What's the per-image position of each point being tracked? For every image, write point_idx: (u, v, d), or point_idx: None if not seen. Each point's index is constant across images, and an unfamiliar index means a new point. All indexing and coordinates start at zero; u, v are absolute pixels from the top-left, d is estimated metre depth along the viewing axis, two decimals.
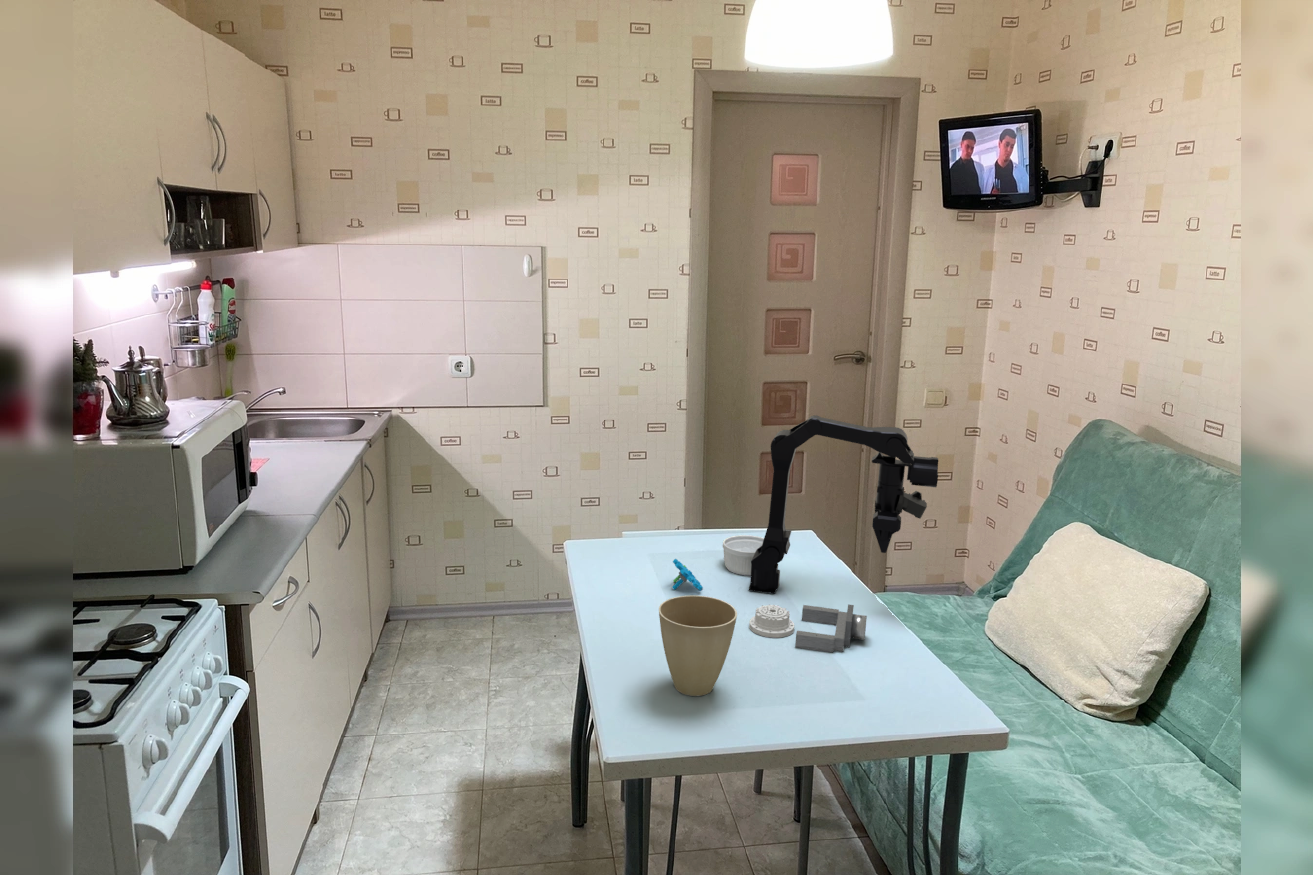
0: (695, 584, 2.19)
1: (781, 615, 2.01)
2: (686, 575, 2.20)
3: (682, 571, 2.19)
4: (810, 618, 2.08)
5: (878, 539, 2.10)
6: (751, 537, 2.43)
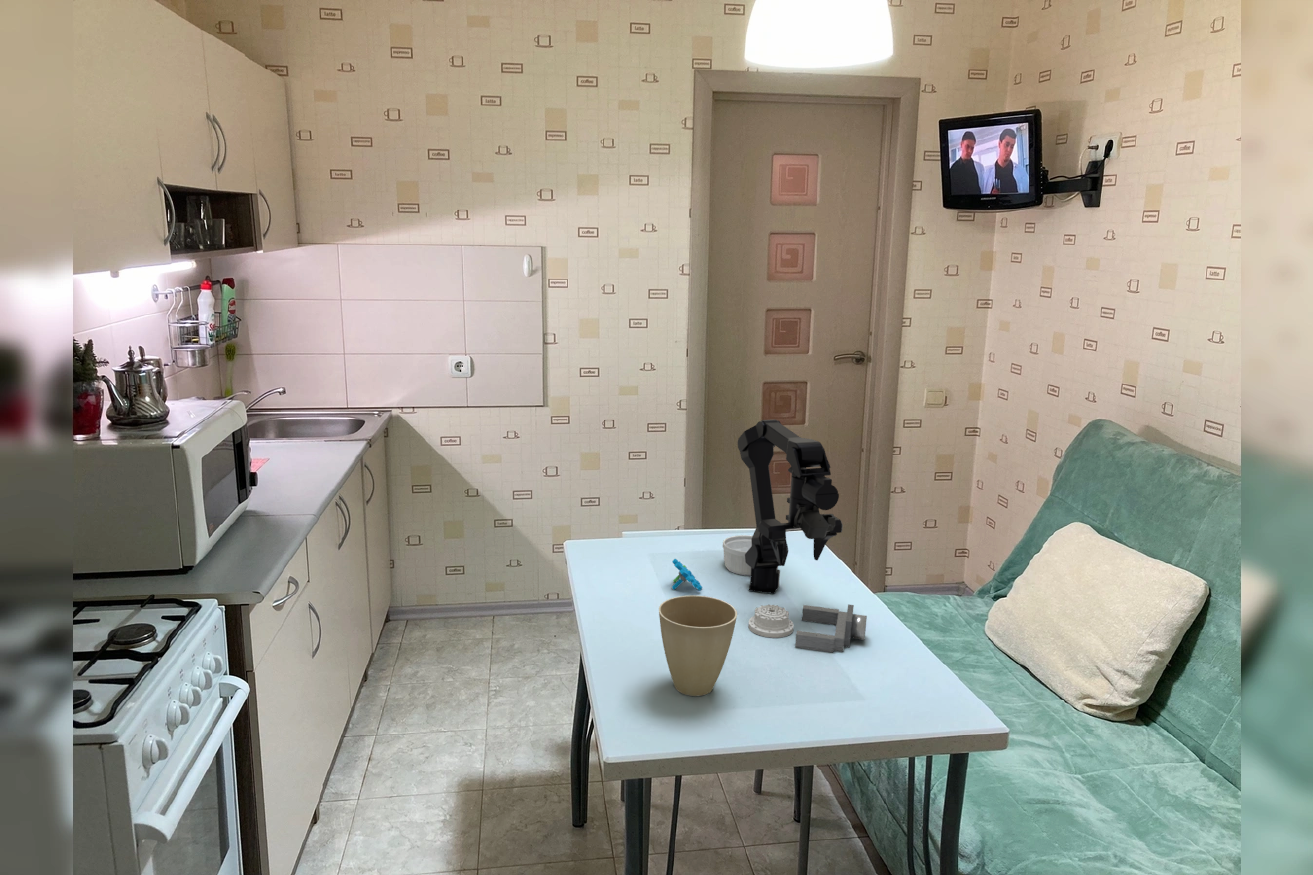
0: (694, 584, 2.19)
1: (780, 615, 2.01)
2: (685, 575, 2.20)
3: (681, 571, 2.19)
4: (810, 618, 2.08)
5: (773, 547, 2.07)
6: (751, 537, 2.43)
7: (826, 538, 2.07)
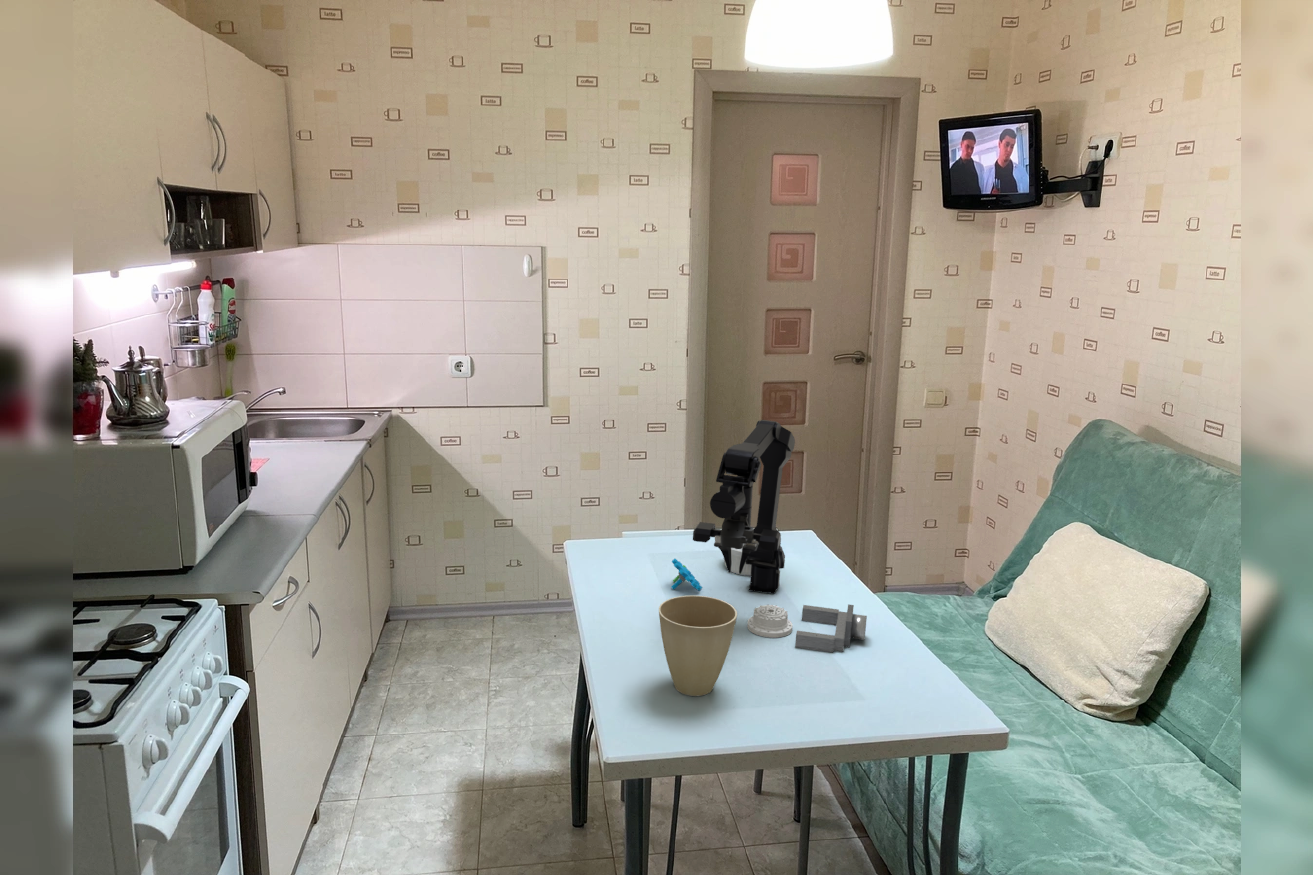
0: (693, 584, 2.19)
1: (779, 615, 2.01)
2: (685, 575, 2.20)
3: (681, 571, 2.19)
4: (810, 618, 2.08)
5: None
6: None
7: (744, 552, 2.00)
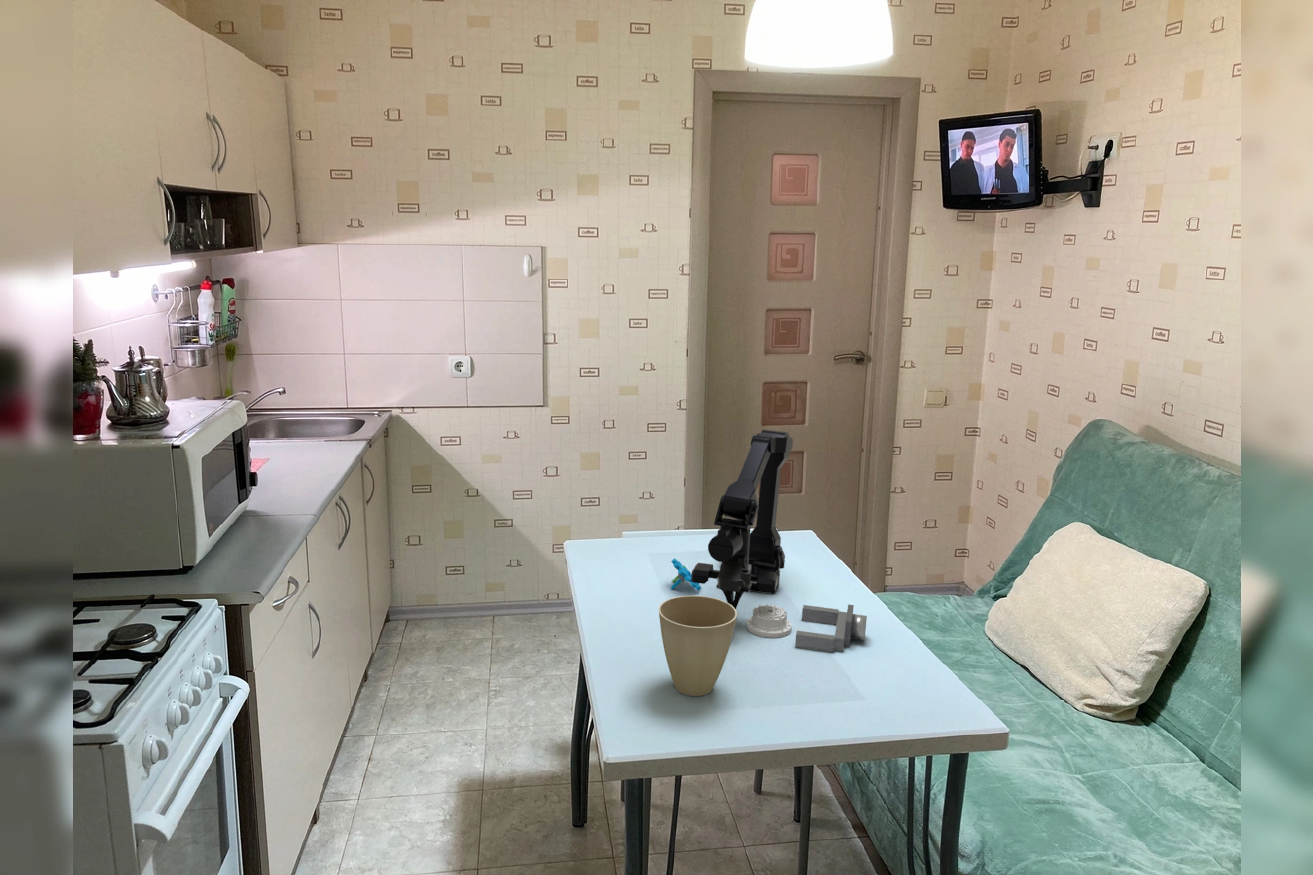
0: (693, 584, 2.19)
1: (778, 615, 2.01)
2: (684, 575, 2.20)
3: (680, 571, 2.19)
4: (810, 618, 2.08)
5: None
6: None
7: (738, 592, 2.02)
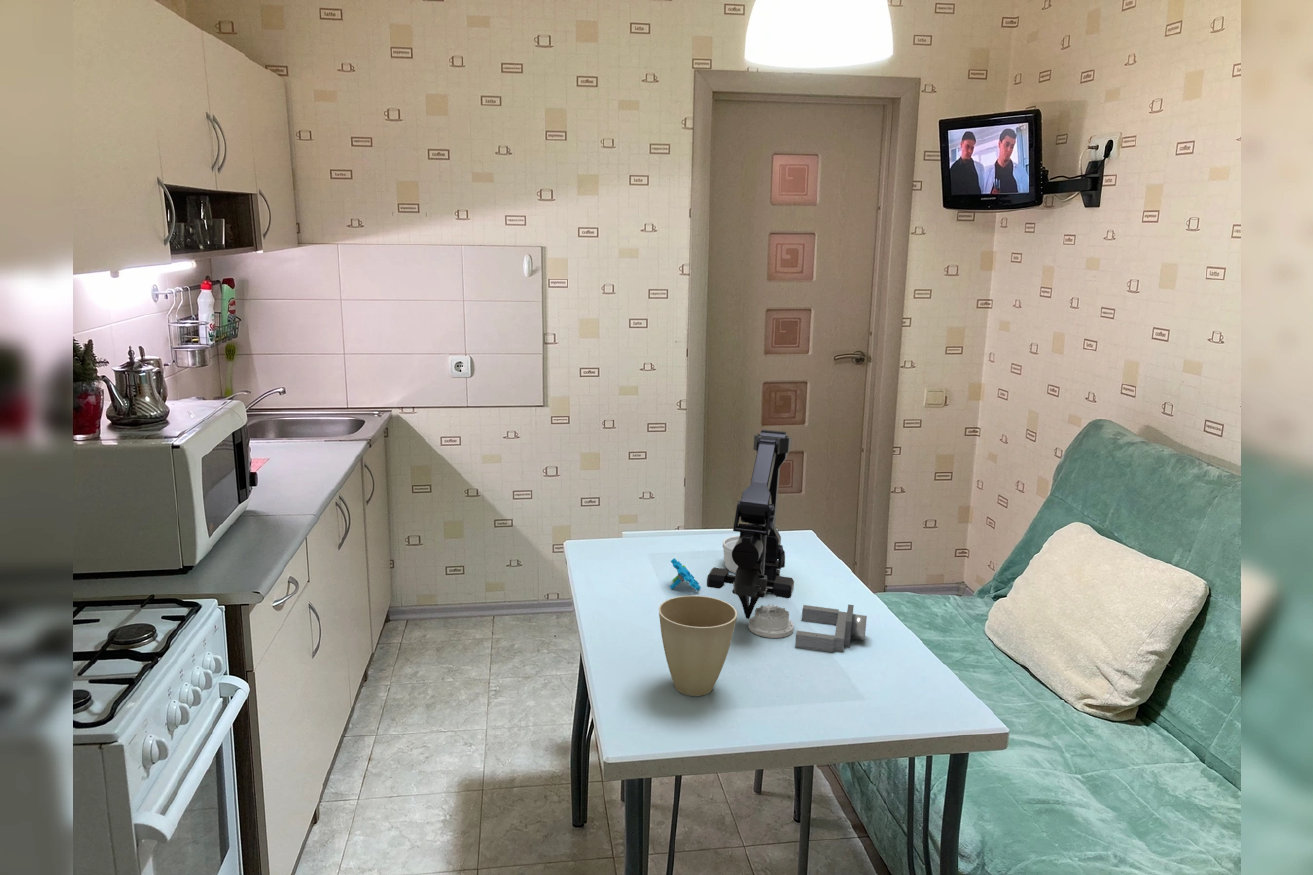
0: (692, 584, 2.19)
1: (780, 615, 2.01)
2: (683, 575, 2.20)
3: (679, 571, 2.19)
4: (810, 618, 2.08)
5: None
6: None
7: (753, 598, 2.01)
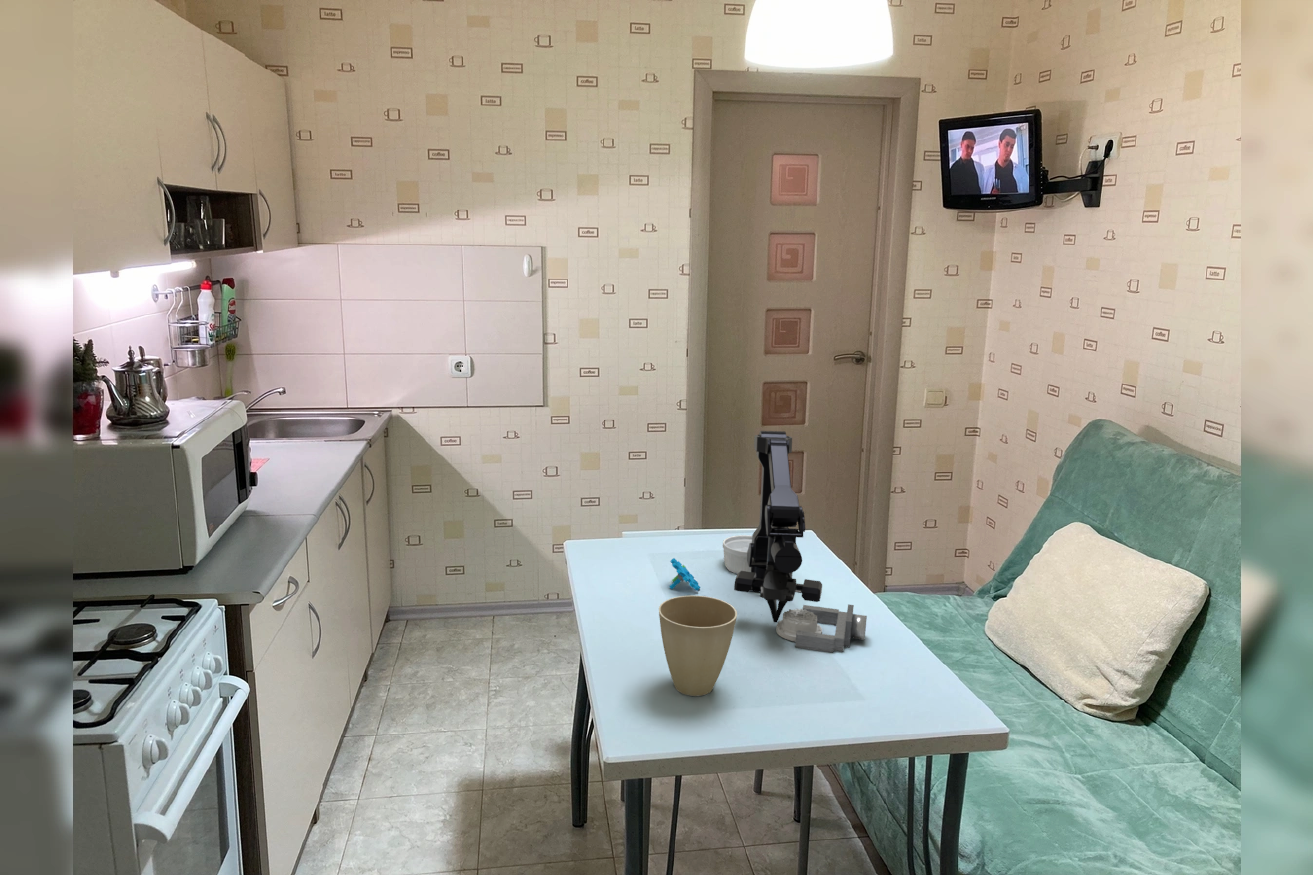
0: (691, 584, 2.19)
1: (808, 619, 1.99)
2: (683, 575, 2.20)
3: (678, 571, 2.19)
4: None
5: None
6: (751, 537, 2.43)
7: (781, 601, 2.00)
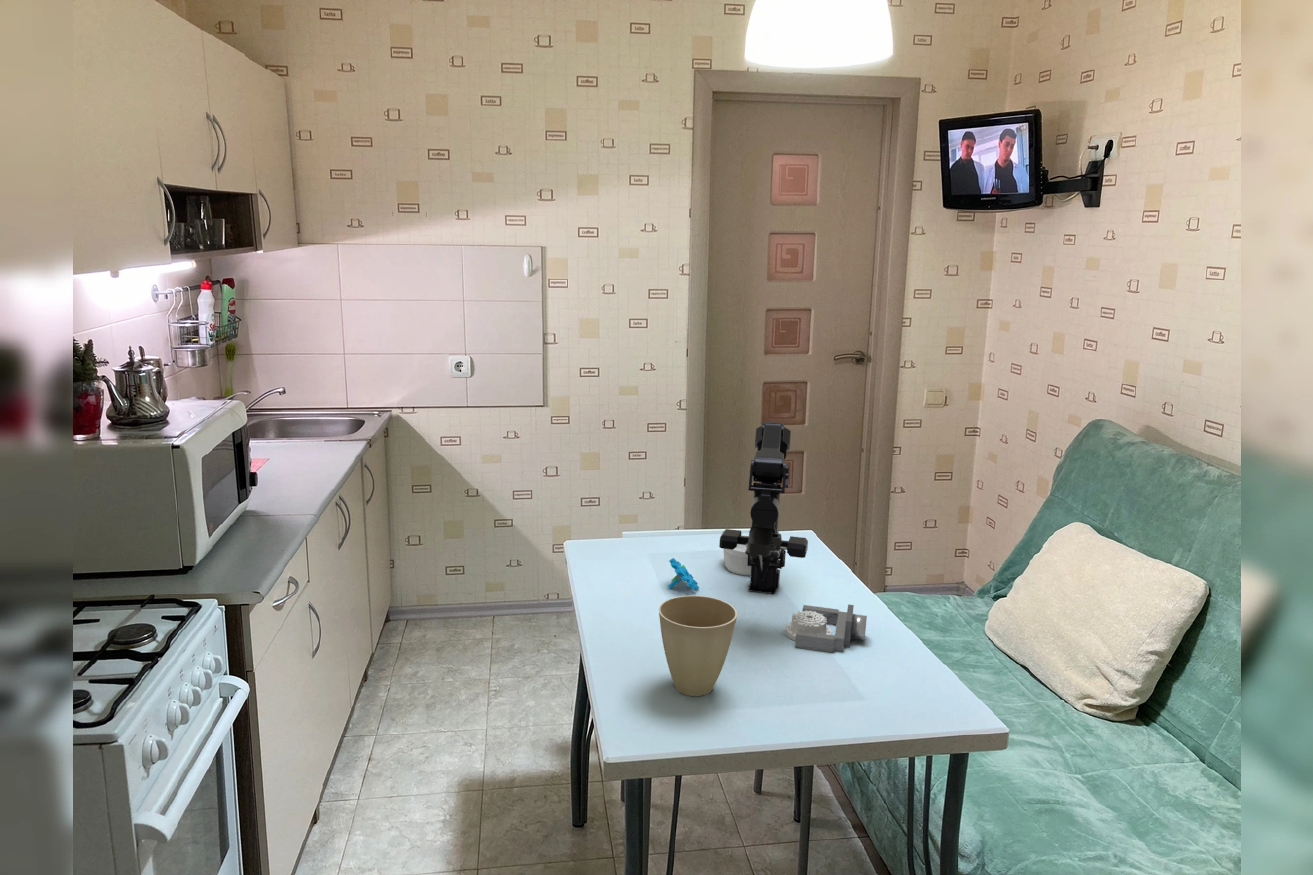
0: (689, 584, 2.19)
1: (818, 621, 1.98)
2: (681, 575, 2.20)
3: (676, 570, 2.19)
4: None
5: None
6: None
7: (767, 558, 1.98)
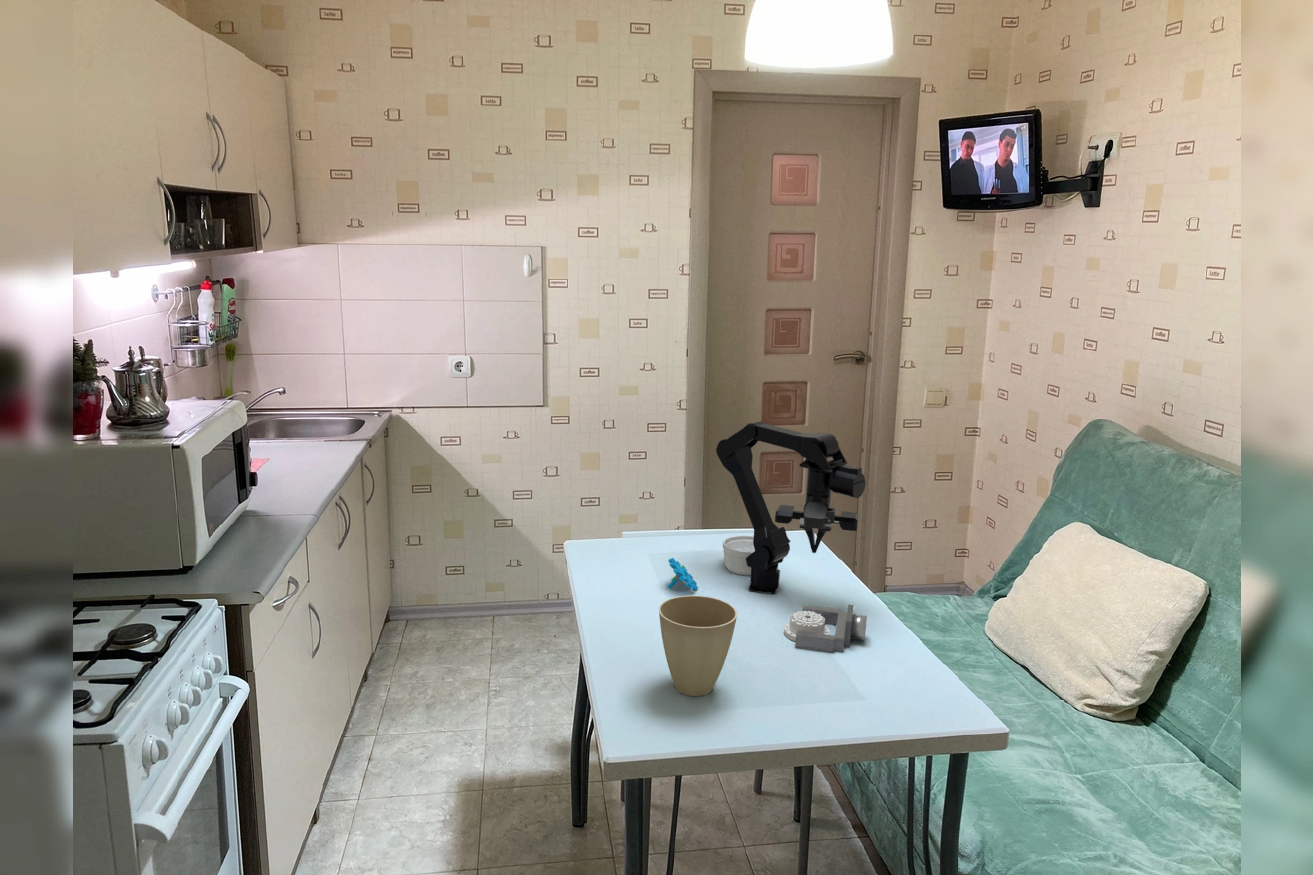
0: (688, 584, 2.19)
1: (816, 621, 1.98)
2: (680, 574, 2.20)
3: (675, 570, 2.19)
4: None
5: None
6: (751, 537, 2.43)
7: (820, 532, 2.11)
